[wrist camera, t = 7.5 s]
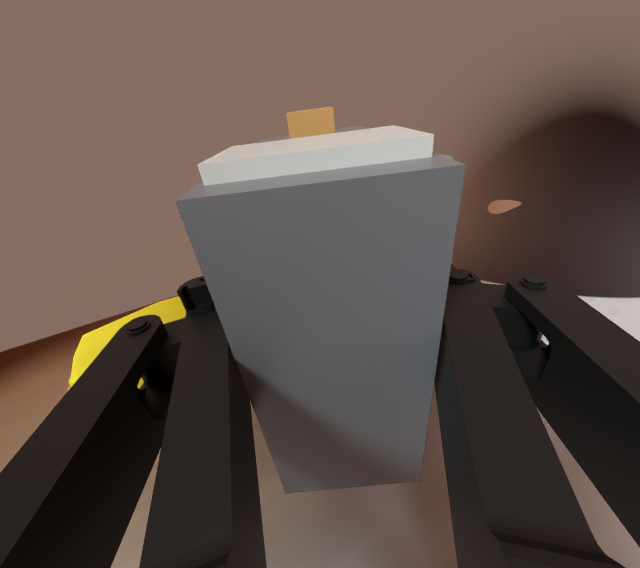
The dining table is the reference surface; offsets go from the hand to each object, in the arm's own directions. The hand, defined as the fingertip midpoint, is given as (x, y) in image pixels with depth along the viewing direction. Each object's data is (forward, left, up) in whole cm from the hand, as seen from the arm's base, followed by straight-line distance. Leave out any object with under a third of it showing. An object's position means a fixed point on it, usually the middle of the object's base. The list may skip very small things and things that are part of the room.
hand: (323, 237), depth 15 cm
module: (0, -4, -6) cm, 7 cm away
